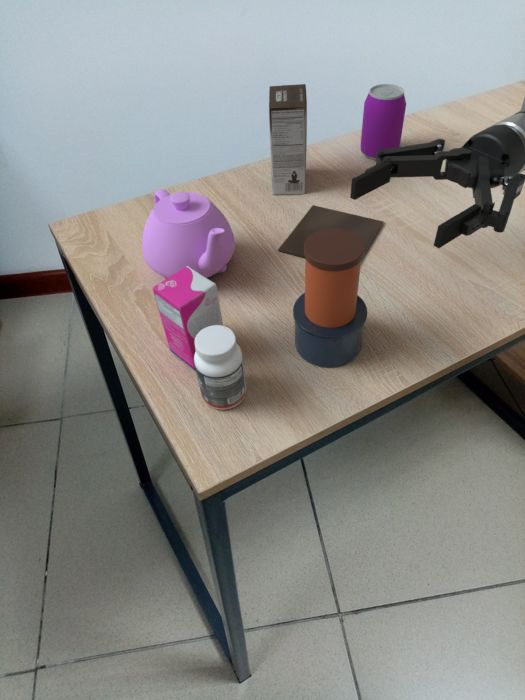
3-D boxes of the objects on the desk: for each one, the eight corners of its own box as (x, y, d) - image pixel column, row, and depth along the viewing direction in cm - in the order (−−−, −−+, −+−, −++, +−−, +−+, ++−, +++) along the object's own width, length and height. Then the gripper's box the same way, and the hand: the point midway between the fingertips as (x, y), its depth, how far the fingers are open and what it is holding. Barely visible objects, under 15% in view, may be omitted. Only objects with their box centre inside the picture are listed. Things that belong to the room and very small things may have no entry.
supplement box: (200, 327, 75) (188, 263, 66) (228, 349, 72) (219, 284, 63) (167, 350, 72) (150, 286, 64) (195, 373, 69) (181, 308, 61)
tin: (372, 330, 73) (377, 297, 68) (348, 378, 67) (351, 346, 63) (310, 310, 76) (310, 278, 72) (281, 355, 71) (280, 323, 66)
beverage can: (390, 165, 102) (399, 102, 94) (353, 157, 105) (358, 95, 96) (404, 148, 107) (414, 86, 98) (368, 140, 110) (374, 79, 101)
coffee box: (271, 170, 103) (268, 84, 92) (304, 169, 103) (305, 82, 91) (271, 195, 97) (268, 107, 85) (306, 194, 97) (308, 105, 85)
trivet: (383, 223, 90) (383, 221, 89) (354, 271, 81) (354, 269, 81) (312, 206, 94) (312, 205, 94) (278, 251, 86) (278, 249, 86)
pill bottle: (204, 375, 69) (193, 321, 61) (247, 375, 68) (241, 320, 61) (199, 411, 65) (186, 358, 58) (245, 411, 65) (238, 357, 57)
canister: (364, 300, 68) (372, 236, 61) (345, 335, 64) (351, 270, 57) (315, 286, 70) (318, 223, 63) (294, 319, 66) (294, 255, 59)
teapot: (268, 282, 81) (265, 211, 72) (188, 322, 76) (173, 252, 66) (201, 223, 92) (190, 156, 83) (127, 255, 87) (107, 187, 78)
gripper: (577, 214, 68) (472, 287, 59) (424, 146, 81) (322, 197, 73) (602, 159, 62) (490, 231, 54) (434, 96, 76) (324, 145, 68)
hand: (393, 212), depth 64 cm, fingers open, 13 cm apart
